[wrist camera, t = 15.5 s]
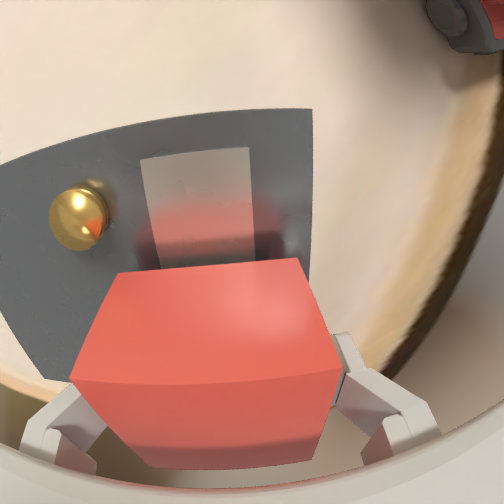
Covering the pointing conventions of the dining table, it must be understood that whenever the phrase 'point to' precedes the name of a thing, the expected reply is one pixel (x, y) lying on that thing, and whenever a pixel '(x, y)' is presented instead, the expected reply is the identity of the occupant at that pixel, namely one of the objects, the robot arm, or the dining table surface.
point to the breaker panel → (146, 214)
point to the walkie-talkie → (470, 24)
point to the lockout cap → (211, 365)
